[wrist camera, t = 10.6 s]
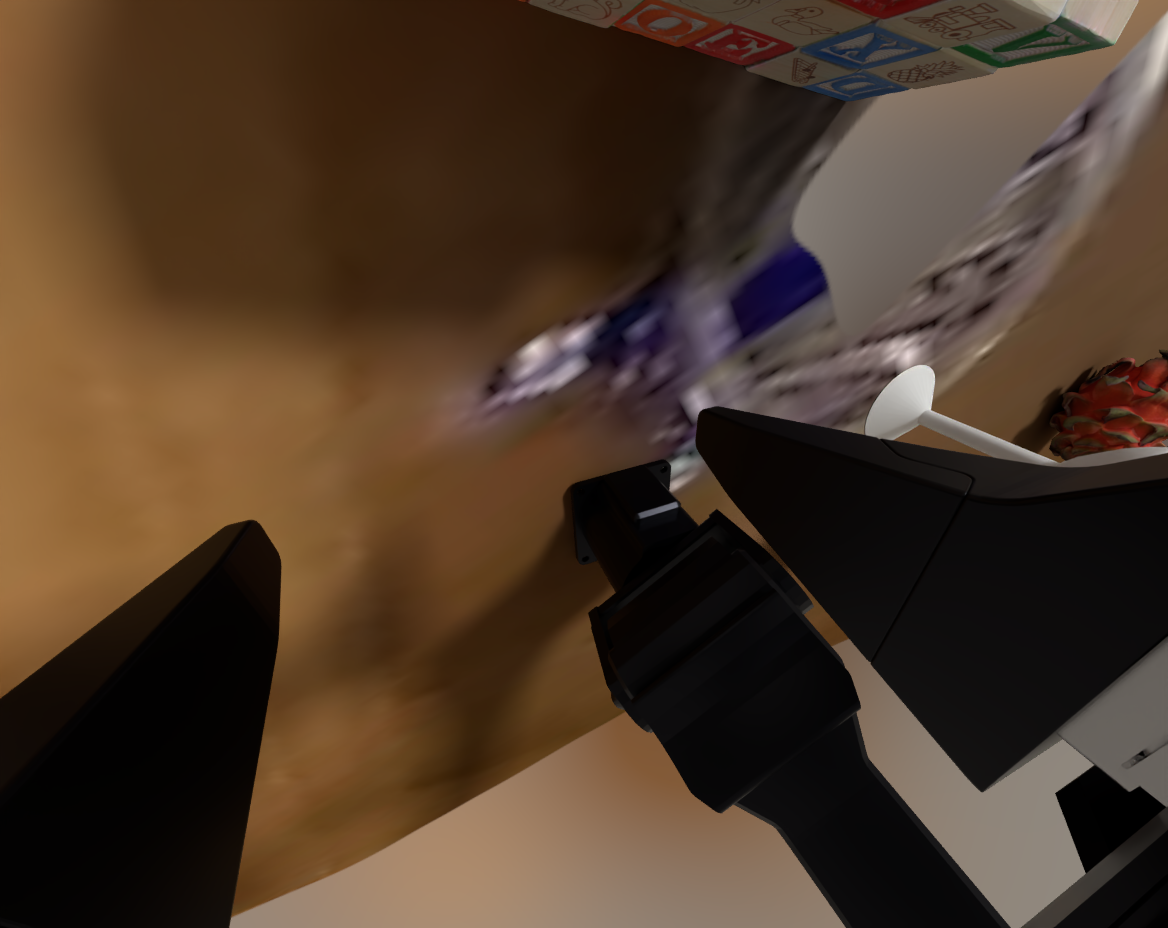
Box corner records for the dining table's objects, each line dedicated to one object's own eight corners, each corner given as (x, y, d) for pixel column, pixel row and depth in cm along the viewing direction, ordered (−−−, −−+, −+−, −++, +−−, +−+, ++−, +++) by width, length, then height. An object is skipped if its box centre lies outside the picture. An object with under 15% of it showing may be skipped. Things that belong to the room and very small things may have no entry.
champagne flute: (861, 458, 35) (1416, 775, 16) (869, 389, 31) (1630, 707, 12) (926, 421, 36) (1530, 682, 17) (943, 349, 31) (1769, 589, 13)
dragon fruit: (1000, 450, 47) (1063, 339, 43) (1085, 472, 46) (1156, 360, 42) (1068, 471, 39) (1152, 337, 35) (1173, 498, 38) (1270, 363, 34)
